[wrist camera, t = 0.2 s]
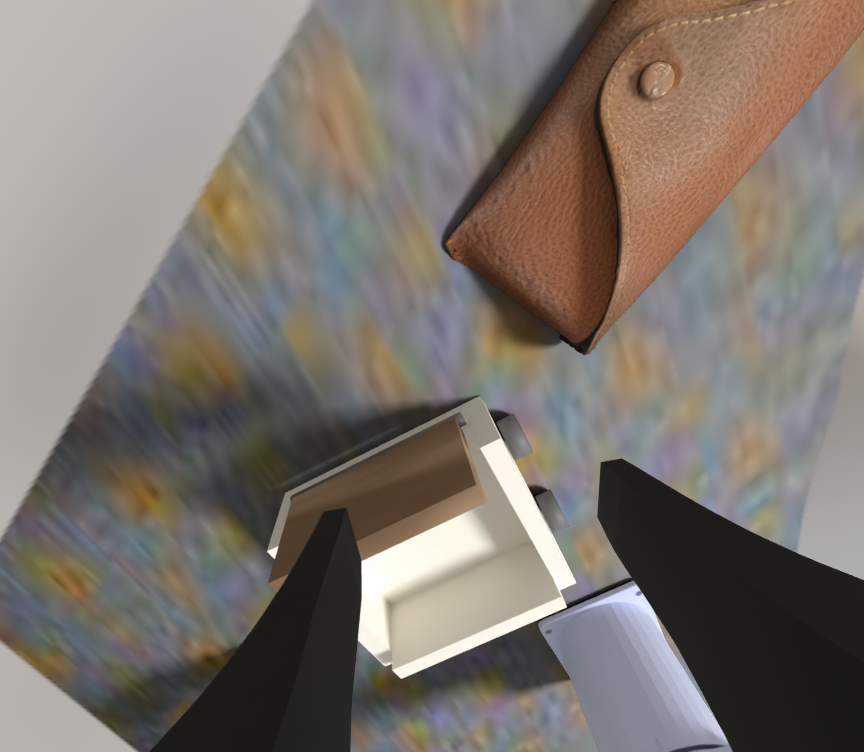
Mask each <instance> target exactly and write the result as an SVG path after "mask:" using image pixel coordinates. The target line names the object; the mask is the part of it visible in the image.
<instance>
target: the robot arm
mask: <svg viewBox="0 0 864 752" xmlns="http://www.w3.org/2000/svg"><path fill="white" fill-rule="evenodd" d="M597 517H598V519H599V521H600V523H601V525H602V527H603V529H604V531H605V534H606V536H607V537H608V539H609V541H610V543H611V545H612V547H613V549H614V551H615V552H616V554H617V556H618V557H619V559H620V560H621V562H622V563H623V565H624V566H625V568H626V569H627V571H628V572H629V574H630V575H631V577H632V579H633V580H634V581H631V582H629V583H627V584H624V585H622V586H620V587H617V588H615V589H613V590H610V591H608V592H606V593H603V594H601V595H599V596H596V597H594V598H592V599H590V600H587V601H585V602H583V603H580V604H578V605H576V606H573V607H571V608H569V609H566V610H564V611H562V612H559V613H557V614H555V615H552V616H550V617H548V618H545V619H543V620H541V621H540V622H539V624H538V627H539V629H540V631H541V633H542V635H543V636H544V638H545V639H546V641H547V642H548V644H549V645H550V647H551V648H552V650H553V652H554V653H555V655H556V656H557V658H558V659H559V661H560V662H561V664H562V666H563V667H564V669H565V670H566V672H567V673H568V675H569V677H570V679H571V682H572V685H573V687H574V690H575V692H576V695H577V698H578V700H579V703H580V705H581V708H582V711H583V713H584V716H585V718H586V721H587V723H588V726H589V729H590V731H591V734H592V736H593V739H594V742H595V744H596V747H597V749H598V752H864V580H862V579H859V578H857V577H854V576H852V575H849V574H847V573H844V572H842V571H839V570H837V569H834V568H831V567H829V566H826V565H824V564H821V563H819V562H816V561H814V560H812V559H809V558H807V557H805V556H802V555H800V554H798V553H796V552H793V551H791V550H789V549H787V548H785V547H782V546H780V545H778V544H776V543H774V542H771V541H769V540H767V539H765V538H763V537H761V536H759V535H757V534H755V533H753V532H750V531H748V530H746V529H744V528H743V527H741V526H739V525H737V524H735V523H733V522H731V521H729V520H727V519H725V518H723V517H722V516H720V515H718V514H716V513H714V512H712V511H710V510H709V509H707V508H705V507H703V506H701V505H700V504H698V503H696V502H694V501H693V500H691V499H689V498H688V497H686V496H684V495H682V494H681V493H679V492H677V491H676V490H674V489H672V488H670V487H669V486H667V485H666V484H664V483H662V482H661V481H659V480H657V479H656V478H654V477H652V476H651V475H649V474H647V473H646V472H644V471H642V470H641V469H639V468H637V467H636V466H634V465H632V464H631V463H629V462H627V461H625V460H623V459H617V460H611V461H605V462H601V468H600V484H599V500H598V516H597ZM361 602H362V560H361V557H360V553H359V550H358V546H357V543H356V539H355V536H354V532H353V529H352V525H351V522H350V518H349V515H348V511H347V508H340V509H335V510H329V511H324V512H323V514H322V515H321V517H320V519H319V520H318V522H317V524H316V526H315V528H314V530H313V532H312V534H311V536H310V538H309V539H308V541H307V543H306V545H305V547H304V548H303V550H302V552H301V554H300V556H299V557H298V559H297V561H296V562H295V564H294V566H293V567H292V569H291V571H290V573H289V574H288V576H287V578H286V579H285V581H284V583H283V584H282V586H281V587H280V589H279V590H278V592H277V594H276V595H275V597H274V598H273V600H272V601H271V603H270V604H269V606H268V607H267V609H266V610H265V612H264V613H263V615H262V616H261V618H260V619H259V621H258V622H257V624H256V625H255V626H254V628H253V629H252V631H251V632H250V633H249V635H248V636H247V637H246V639H245V640H244V642H243V643H242V644H241V645H240V647H239V648H238V649H237V651H236V652H235V653H234V655H233V656H232V657H231V659H230V660H229V661H228V662H227V664H226V665H225V666H224V667H223V669H222V670H221V671H220V672H219V674H218V675H217V676H216V677H215V678H214V680H213V681H212V682H211V683H210V685H209V686H208V687H207V688H206V689H205V691H204V692H203V693H202V694H201V695H200V697H199V698H198V699H197V700H196V701H195V702H194V704H193V705H192V706H191V707H190V708H189V709H188V710H187V712H186V713H185V714H184V715H183V716H182V717H181V718H180V719H179V720H178V721H177V722H176V724H175V725H174V726H173V727H172V728H171V729H170V730H169V731H168V732H167V733H166V734H165V735H164V737H163V738H162V739H161V740H160V741H159V742H158V743H157V744H156V745H155V746H154V747H153V748H152V750H151V751H150V752H350V742H351V706H352V691H353V681H354V672H355V662H356V652H357V642H358V633H359V623H360V612H361ZM653 610H654V611H655V613H656V614H657V616H658V617H659V619H660V620H661V622H662V623H663V625H664V626H665V628H666V630H667V631H668V633H669V634H670V636H671V638H672V639H673V641H674V643H675V644H676V646H677V647H678V649H679V651H680V653H681V655H682V657H683V658H684V660H685V662H686V664H687V666H688V667H689V669H690V671H691V673H692V675H693V677H694V678H695V680H696V682H697V684H698V686H699V688H700V689H701V691H702V693H703V695H704V697H705V699H706V701H707V703H708V705H709V707H710V708H711V710H712V712H713V714H714V716H715V718H716V720H717V722H718V723H717V722H716V720H715V719H714V717H713V715H712V714H711V712H710V711H709V709H708V707H707V706H706V704H705V703H704V701H703V700H702V698H701V696H700V695H699V693H698V692H697V690H696V688H695V687H694V685H693V684H692V682H691V680H690V679H689V677H688V676H687V674H686V672H685V671H684V669H683V668H682V666H681V664H680V663H679V661H678V660H677V658H676V657H675V655H674V653H673V652H672V650H671V649H670V647H669V645H668V644H667V642H666V640H665V638H664V636H663V633H662V631H661V628H660V626H659V623H658V621H657V618H656V616H655V613H654V611H653ZM718 724H719V725H718ZM719 726H720V727H719Z"/></svg>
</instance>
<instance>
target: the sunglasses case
mask: <svg viewBox="0 0 864 752" xmlns="http://www.w3.org/2000/svg"><path fill="white" fill-rule="evenodd" d="M863 31H864V0H616V2H615V3H614V5H613V6H612V7H611V9H610V10H609V12H608V13H607V15H606V16H605V18H604V20H603V21H602V23H601V24H600V26H599V27H598V29H597V30H596V32H595V34H594V35H593V36H592V38H591V39H590V41H589V43H588V44H587V46H586V47H585V48H584V49H583V51H582V53H581V55H580V56H579V58H578V59H577V61H576V63H575V64H574V65H573V66H572V67H571V69H570V70H569V72H568V73H567V75H566V77H565V79H564V80H563V82H562V83H561V85H560V86H559V87H558V89H557V90H556V92H555V94H554V96H553V97H552V98H551V100H550V101H549V103H548V104H547V105H546V107H545V108H544V109H543V110H542V112H541V113H540V115H539V117H538V119H537V120H536V121H535V122H534V124H533V125H532V128H531V129H530V131H529V132H528V134H527V135H526V137H525V138H524V139H523V140H522V141H521V142H520V144H519V147H518V148H517V150H516V151H515V152H514V154H513V155H512V156H511V158H510V159H509V161H508V162H507V163H506V165H505V167H504V168H503V169H502V171H501V172H500V173H499V175H498V176H497V177H496V178H495V179H494V181H493V182H492V184H491V185H490V186H489V187H488V189H487V190H486V192H485V193H484V194H483V195H482V196H481V197H480V199H479V200H478V202H477V203H476V204H475V206H474V207H473V208H472V209H471V210H470V211H469V213H468V214H467V215H466V216H465V217H464V218H463V219H462V220H461V222H460V223H459V224H458V225H457V226H456V227H455V229H454V230H453V231H452V233H451V234H450V236H449V237H448V239H447V241H446V242H445V246H446V248H447V251H448V253H449V256H450V257H451V258H452V259H453V260H455V261H457V262H460V263H462V264H464V265H467V266H469V267H471V268H472V269H474V270H476V271H477V272H478V273H479V274H480V275H482V276H483V277H484V278H486V279H487V280H488V281H490V282H491V283H493V284H494V285H495V286H496V287H498V288H499V289H500V290H501V291H503V292H504V293H506V294H507V295H509V296H510V297H511V298H512V299H513V300H515V301H517V302H518V303H519V304H520V305H522V306H523V307H524V308H526V309H527V310H528V311H529V312H530V313H532V314H534V315H535V316H536V317H538V318H539V319H541V320H542V321H543V322H545V323H546V324H547V325H549V326H550V327H552V328H553V329H555V330H557V331H559V332H560V333H561V335H560V339H561V340H563V341H564V342H565V343H567V344H569V345H570V346H571V347H573V348H575V350H576V351H578V352H579V353H582V354H583V355H587V354H589V353H590V352H591V351H592V350H593V349H594V348H595V346H596V345H597V343H598V342H599V340H600V339H601V338H602V337H603V335H604V334H605V333H606V332H607V331H608V330H609V329H610V328H611V326H612V325H613V324H614V323H615V322H616V321H617V320H618V319H619V318H620V317H621V316H622V315H623V314H624V313H625V311H626V310H627V309H628V308H629V307H630V306H631V305H632V304H633V303H634V302H635V301H636V299H637V298H639V296H640V295H641V294H642V293H643V292H644V291H645V290H646V289H647V288H648V287H649V286H650V284H651V283H652V282H653V281H654V280H655V279H656V277H657V276H658V275H659V274H660V273H661V272H662V271H663V270H664V268H665V267H666V266H667V265H668V264H669V262H670V261H671V260H672V259H673V258H674V257H675V256H676V255H677V254H678V252H679V251H680V250H681V249H682V248H683V247H684V245H685V244H686V243H687V242H688V241H689V240H690V239H691V237H692V236H693V235H694V234H695V232H696V231H697V230H698V229H699V228H700V227H701V225H702V224H703V223H704V222H705V221H706V220H707V219H708V218H709V216H710V215H711V214H712V213H713V211H714V210H715V209H716V208H717V207H718V206H719V204H720V203H721V202H722V201H723V200H724V199H725V197H726V196H727V195H728V194H729V192H730V191H731V190H732V189H733V188H734V187H735V185H736V184H737V183H738V182H739V181H740V180H741V178H742V177H743V176H744V175H745V174H746V173H747V171H748V170H749V169H750V168H751V166H752V165H753V164H754V163H755V162H756V161H757V160H758V158H759V157H760V156H761V155H762V153H763V152H764V151H765V150H766V149H767V148H768V146H769V145H770V144H771V143H772V142H773V141H774V140H775V138H776V137H777V136H778V135H779V133H780V132H781V131H782V129H783V128H784V127H785V126H786V125H787V124H788V122H789V121H790V120H791V119H792V118H793V117H794V115H795V114H796V113H797V112H798V111H799V109H800V108H801V107H802V106H803V105H804V103H805V102H806V101H807V100H808V98H809V97H810V96H811V95H812V94H813V92H814V91H815V90H816V89H817V87H818V86H819V85H820V84H821V83H822V82H823V80H824V79H825V78H826V77H827V76H828V74H829V73H830V72H831V70H832V69H833V68H834V67H835V66H836V65H837V64H838V62H839V61H840V60H841V59H842V57H843V56H844V55H845V53H846V52H847V51H848V50H849V48H850V47H851V46H852V44H853V43H854V42H855V41H856V40H857V38H858V37H859V36H860V34H861V33H862V32H863Z"/></svg>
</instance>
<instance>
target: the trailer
mask: <svg viewBox="0 0 864 752" xmlns="http://www.w3.org/2000/svg"><path fill="white" fill-rule="evenodd" d="M458 412H461V414H462V415H463V417H464V419H465V421H466V424H467V425H465V426H463V427H461V429H462V431H463V433H464V435H465V438H466V441H467V444H468V447H469V450H470V453H471V456H472V459H473V462H474V465H475V468H476V471H477V474H478V477H479V480H480V483H481V486H482V489H483V492H484V495H485V498H486V501H487V503H485V504H483V505H481V506H478V507H476V508H474V509H472V510H470V511H468V512H466V513H464V514H461V515H459V516H457V517H455V518H453V519H451V520H449V521H447V522H444V523H442V524H440V525H438V526H436V527H434V528H432V529H429V530H427V531H425V532H423V533H421V534H419V535H417V536H415V537H412V538H410V539H408V540H406V541H404V542H402V543H400V544H398V545H395V546H393V547H391V548H389V549H387V550H385V551H383V552H381V553H378V554H376V555H374V556H372V557H370V558H368V559H366V560H363V561H362V602H361V612H360V623H359V633H358V641H359V642H360V643H361V644H362V645H363V646H364V647H365V648H367V649H368V650H369V651H370V652H371V653H372V654H373V655H374V656H375V657H376V658H377V659H378V660H379V661H380V662H381V663H382V664H383V665H384V666H388V665H390V664H392V670H393V671H394V672H395V673H396V674H397V675H398V676H399V677H400V678H401V679H402V678H404V677H407V676H409V675H411V674H414V673H416V672H418V671H421V670H423V669H425V668H428V667H430V666H432V665H434V664H437V663H439V662H441V661H444V660H446V659H448V658H451V657H453V656H455V655H458V654H460V653H462V652H465V651H467V650H469V649H471V648H474V647H476V646H478V645H481V644H483V643H485V642H488V641H490V640H492V639H495V638H497V637H499V636H502V635H504V634H506V633H509V632H511V631H513V630H515V629H518V628H520V627H522V626H525V625H527V624H529V623H532V622H534V621H536V620H539V619H541V618H543V617H546V616H548V615H550V614H553V613H555V612H557V611H559V610H562V609H564V608H566V607H567V606H566V603H565V601H564V599H563V597H562V594H561V592H560V590H561V589H564V588H566V587H568V586H571V585H573V584H575V583H576V581H575V579H574V577H573V575H572V573H571V571H570V569H569V567H568V565H567V563H566V561H565V559H564V557H563V555H562V553H561V551H560V549H559V547H558V545H557V543H556V541H555V539H554V537H553V535H552V533H551V531H550V529H549V527H548V525H547V523H546V521H545V519H544V517H543V515H542V513H541V511H540V509H539V507H538V506H537V504H536V502H535V500H534V498H533V496H532V494H531V492H530V490H529V488H528V486H527V484H526V482H525V481H524V479H523V477H522V475H521V473H520V471H519V469H518V467H517V465H516V463H515V461H514V459H515V460H517V459H519V458H521V457H524V456H526V455H528V454H530V453H532V452H533V450H532V448H531V446H530V444H529V442H528V440H527V438H526V436H525V434H524V432H523V430H522V428H521V426H520V424H519V423H518V421H517V419H516V417H515V416H514V414H511V415H509V416H507V417H505V418H503V419H501V420H499V421H497V422H496V423H497V425H498V427H499V429H500V431H501V433H502V435H503V437H504V439H505V441H506V443H507V445H508V447H509V449H510V451H511V453H512V455H513V457H514V459H513V457H512V456H511V454H510V452H509V450H508V448H507V446H506V444H505V442H504V440H503V438H502V436H501V434H500V433H499V431H498V429H497V427H496V425H495V423H494V421H493V419H492V417H491V415H490V413H489V411H488V409H487V408H486V406H485V404H484V402H483V400H482V398H481V396H478V397H476V398H474V399H472V400H470V401H468V402H466V403H464V404H462V405H460V406H458V407H456V408H454V409H452V410H450V411H448V412H446V413H444V414H442V415H440V416H438V417H436V418H434V419H432V420H430V421H428V422H426V423H424V424H422V425H420V426H418V427H416V428H414V429H412V430H410V431H408V432H406V433H404V434H402V435H400V436H398V437H396V438H394V439H392V440H390V441H388V442H386V443H384V444H382V445H380V446H378V447H376V448H374V449H372V450H370V451H368V452H366V453H364V454H362V455H360V456H358V457H356V458H354V459H352V460H350V461H348V462H346V463H344V464H342V465H340V466H338V467H336V468H334V469H332V470H330V471H328V472H326V473H324V474H322V475H320V476H318V477H316V478H314V479H312V480H310V481H308V482H306V483H304V484H302V485H300V486H298V487H296V488H294V489H292V490H290V491H288V492H286V493H285V495H284V498H283V501H282V505H281V508H280V511H279V514H278V517H277V521H276V524H275V527H274V530H273V533H272V537H271V540H270V543H269V546H268V549H267V552H268V553H269V554H270V555H271V556H272V557H273V558H274V559H275V557H276V553H277V550H278V546H279V543H280V539H281V536H282V532H283V529H284V525H285V522H286V518H287V515H288V511H289V508H290V504H291V501H290V497H291V496H292V495H294V494H296V493H298V492H300V491H302V490H304V489H306V488H308V487H310V486H312V485H314V484H316V483H318V482H320V481H322V480H324V479H326V478H328V477H330V476H332V475H334V474H336V473H338V472H340V471H342V470H344V469H346V468H348V467H350V466H352V465H354V464H356V463H358V462H360V461H362V460H364V459H366V458H368V457H370V456H372V455H374V454H376V453H378V452H380V451H382V450H384V449H386V448H388V447H390V446H392V445H394V444H396V443H398V442H400V441H402V440H404V439H406V438H408V437H410V436H412V435H414V434H416V433H418V432H420V431H422V430H424V429H426V428H428V427H430V426H432V425H434V424H436V423H438V422H440V421H442V420H444V419H446V418H448V417H450V416H452V415H454V414H456V413H458ZM535 498H536V500H537V502H538V504H539V506H540V508H541V510H542V512H543V514H544V516H545V518H546V520H547V522H548V524H549V526H550V528H551V530H552V532H553V533H554V532H557V531H559V530H561V529H563V528H565V527H568V526H569V524H568V522H567V520H566V518H565V516H564V514H563V512H562V510H561V508H560V506H559V504H558V503H557V501H556V499H555V497H554V495H553V493H552V492H551V490H548V491H546V492H544V493H541V494H539V495H537V496H535Z"/></svg>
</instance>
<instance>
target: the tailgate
mask: <svg viewBox="0 0 864 752" xmlns="http://www.w3.org/2000/svg"><path fill="white" fill-rule="evenodd" d="M465 425H467V424H466V421H465V419H464V417H463V415H462V414H461V412H458V413H456V414H454V415H452V416H450V417H448V418H446V419H444V420H442V421H440V422H438V423H436V424H434V425H432V426H430V427H428V428H426V429H424V430H422V431H420V432H418V433H416V434H414V435H412V436H410V437H408V438H406V439H404V440H402V441H400V442H398V443H396V444H394V445H392V446H390V447H388V448H386V449H384V450H382V451H380V452H378V453H376V454H374V455H372V456H370V457H368V458H366V459H364V460H362V461H360V462H358V463H356V464H354V465H352V466H350V467H348V468H346V469H344V470H342V471H340V472H338V473H336V474H334V475H332V476H330V477H328V478H326V479H324V480H322V481H320V482H318V483H316V484H314V485H312V486H310V487H308V488H306V489H304V490H302V491H300V492H298V493H296V494H294V495H292V496H291V497H290V501H291V504H290V508H289V511H288V515H287V518H286V522H285V525H284V529H283V532H282V536H281V539H280V543H279V546H278V550H277V553H276V557H275V560H274V564H273V567H272V571H271V574H270V578H269V581H268V584H269V585H270V586H271V587H272V588H273V589H274V590H275V591H276V592H278V590H279V589H280V587H281V586H282V584H283V583H284V581H285V579H286V578H287V576H288V574H289V573H290V571H291V569H292V567H293V566H294V564H295V562H296V561H297V559H298V557H299V556H300V554H301V552H302V550H303V548H304V547H305V545H306V543H307V541H308V539H309V538H310V536H311V534H312V532H313V530H314V528H315V526H316V524H317V522H318V520H319V519H320V517H321V515H322V514H323V512H324V511H329V510H335V509H340V508H347V511H348V515H349V518H350V522H351V525H352V529H353V532H354V536H355V539H356V543H357V546H358V550H359V553H360V557H361V560H362V561H363V560H366V559H368V558H370V557H372V556H374V555H376V554H378V553H381V552H383V551H385V550H387V549H389V548H391V547H393V546H395V545H398V544H400V543H402V542H404V541H406V540H408V539H410V538H412V537H415V536H417V535H419V534H421V533H423V532H425V531H427V530H429V529H432V528H434V527H436V526H438V525H440V524H442V523H444V522H447V521H449V520H451V519H453V518H455V517H457V516H459V515H461V514H464V513H466V512H468V511H470V510H472V509H474V508H476V507H478V506H481V505H483V504H485V503H487V501H486V498H485V495H484V492H483V489H482V486H481V483H480V480H479V477H478V474H477V471H476V468H475V465H474V462H473V459H472V456H471V453H470V450H469V447H468V444H467V441H466V438H465V435H464V433H463V431H462V429H461V427H463V426H465Z"/></svg>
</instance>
